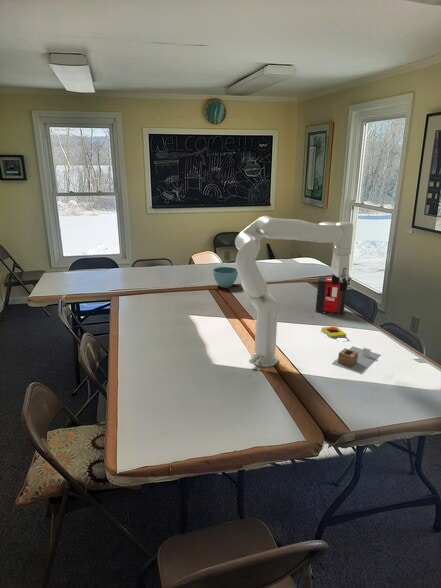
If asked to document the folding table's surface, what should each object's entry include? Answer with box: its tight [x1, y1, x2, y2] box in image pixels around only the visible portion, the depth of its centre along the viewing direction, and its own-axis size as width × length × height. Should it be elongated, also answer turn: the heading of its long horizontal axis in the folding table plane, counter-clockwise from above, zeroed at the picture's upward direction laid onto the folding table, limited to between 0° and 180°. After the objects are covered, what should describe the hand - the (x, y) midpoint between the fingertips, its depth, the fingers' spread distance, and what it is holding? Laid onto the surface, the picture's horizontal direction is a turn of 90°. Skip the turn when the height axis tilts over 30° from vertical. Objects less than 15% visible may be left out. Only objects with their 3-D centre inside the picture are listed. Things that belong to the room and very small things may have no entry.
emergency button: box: [320, 326, 347, 340], centre depth 216 cm, size 9×4×15 cm
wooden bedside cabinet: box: [337, 348, 358, 367], centre depth 184 cm, size 6×6×5 cm
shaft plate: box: [331, 346, 382, 375], centre depth 187 cm, size 24×14×6 cm, turn 140°
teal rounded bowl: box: [212, 266, 239, 289], centre depth 296 cm, size 18×18×12 cm
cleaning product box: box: [315, 276, 347, 316], centre depth 248 cm, size 16×9×20 cm, turn 71°
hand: (338, 287), depth 184 cm, fingers open, 9 cm apart
